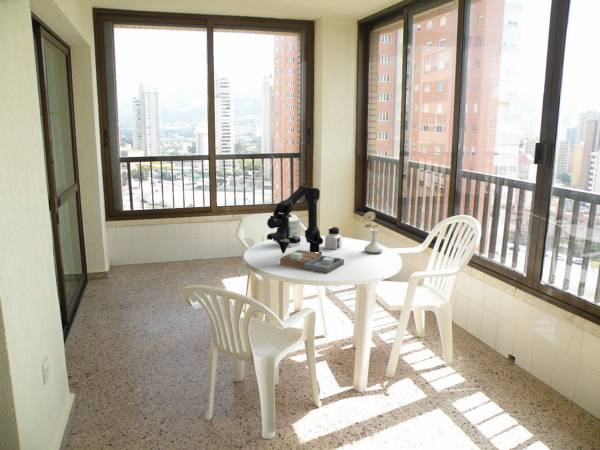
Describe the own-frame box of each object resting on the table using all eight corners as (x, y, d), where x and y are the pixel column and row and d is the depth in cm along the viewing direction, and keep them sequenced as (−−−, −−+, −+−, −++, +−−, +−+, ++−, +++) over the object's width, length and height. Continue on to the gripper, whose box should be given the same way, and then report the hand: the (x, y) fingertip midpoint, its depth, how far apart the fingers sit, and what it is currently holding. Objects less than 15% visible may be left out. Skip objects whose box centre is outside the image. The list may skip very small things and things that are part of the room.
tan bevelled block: (298, 256, 306) (298, 249, 305) (321, 260, 298) (321, 253, 297) (280, 264, 289) (280, 257, 288) (304, 269, 281) (304, 262, 280)
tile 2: (334, 258, 292) (334, 262, 292) (326, 257, 294) (326, 261, 295) (330, 260, 288) (330, 264, 288) (322, 259, 290) (322, 263, 291)
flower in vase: (382, 249, 324) (384, 210, 319) (383, 254, 313) (385, 213, 308) (361, 249, 325) (363, 209, 320) (361, 253, 314) (363, 212, 309)
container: (341, 247, 328) (342, 227, 325) (335, 250, 321) (336, 229, 318) (330, 245, 332) (331, 225, 329) (324, 248, 325) (325, 227, 322)
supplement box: (279, 245, 331) (279, 218, 327) (289, 242, 338) (289, 216, 334) (290, 247, 325) (290, 221, 321) (300, 245, 332) (300, 219, 328)
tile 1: (294, 256, 291) (294, 251, 291) (302, 257, 289) (302, 253, 288) (290, 258, 287) (290, 253, 286) (298, 259, 285) (298, 255, 284)
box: (321, 260, 298) (321, 255, 298) (343, 264, 292) (344, 259, 291) (304, 269, 281) (304, 263, 281) (327, 273, 275) (327, 268, 274)
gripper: (261, 226, 286) (261, 253, 289) (290, 230, 277) (290, 259, 280) (272, 222, 296) (272, 249, 299) (301, 226, 287) (300, 254, 290)
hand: (283, 253), depth 292 cm, fingers closed
